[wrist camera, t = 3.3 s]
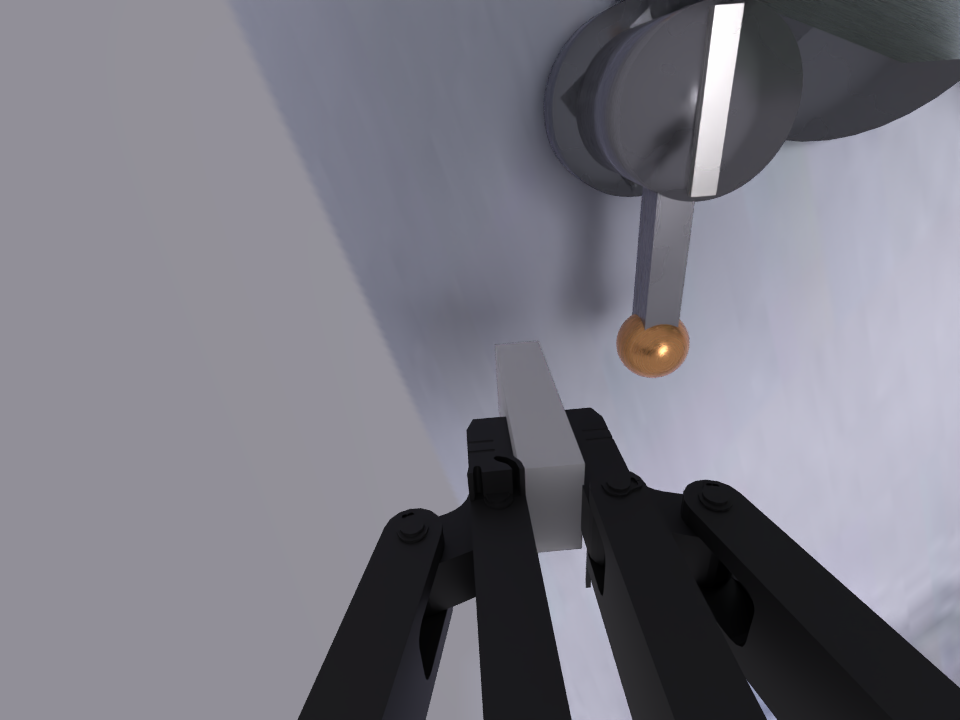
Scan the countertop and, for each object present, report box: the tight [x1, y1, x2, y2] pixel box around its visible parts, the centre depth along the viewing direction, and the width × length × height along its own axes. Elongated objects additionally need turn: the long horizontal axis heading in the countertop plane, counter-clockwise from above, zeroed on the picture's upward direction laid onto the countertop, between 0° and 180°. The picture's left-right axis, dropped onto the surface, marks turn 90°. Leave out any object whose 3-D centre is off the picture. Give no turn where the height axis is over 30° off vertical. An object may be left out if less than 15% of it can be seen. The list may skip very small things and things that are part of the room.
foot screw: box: [576, 0, 803, 378], centre depth 17 cm, size 12×5×6 cm, turn 4°
